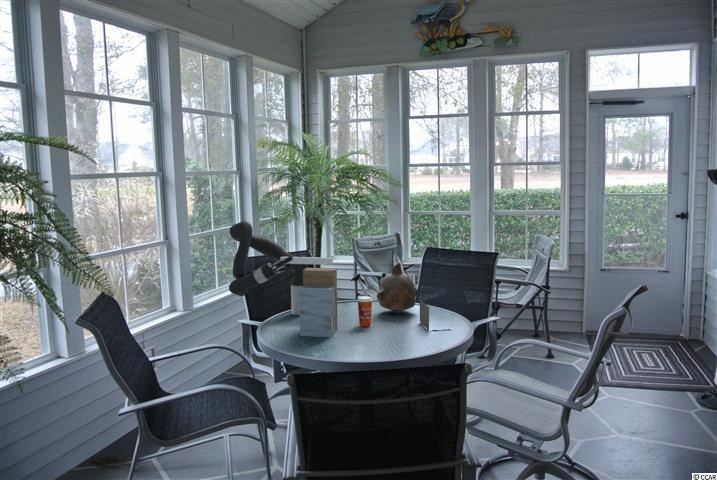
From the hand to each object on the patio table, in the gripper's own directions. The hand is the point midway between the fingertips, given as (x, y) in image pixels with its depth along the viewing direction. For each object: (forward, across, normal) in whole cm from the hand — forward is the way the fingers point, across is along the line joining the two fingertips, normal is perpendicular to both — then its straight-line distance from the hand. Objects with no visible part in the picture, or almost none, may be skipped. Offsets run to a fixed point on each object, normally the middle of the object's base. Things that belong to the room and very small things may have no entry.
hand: (292, 257), depth 286 cm
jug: (+22, +50, +57) cm, 79 cm away
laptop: (+41, +24, +69) cm, 84 cm away
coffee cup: (+9, +21, +50) cm, 56 cm away
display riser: (-9, +4, +40) cm, 41 cm away
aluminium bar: (+5, 0, +6) cm, 8 cm away
